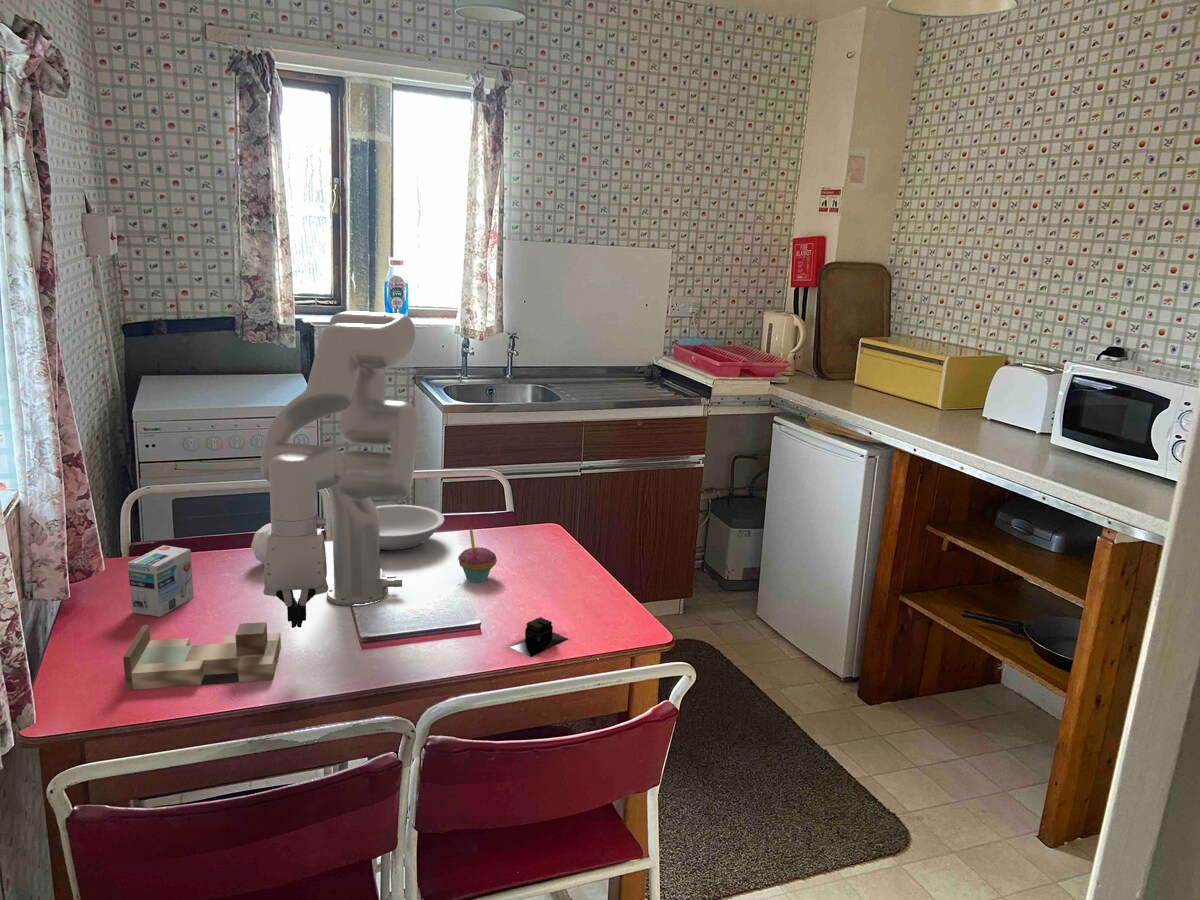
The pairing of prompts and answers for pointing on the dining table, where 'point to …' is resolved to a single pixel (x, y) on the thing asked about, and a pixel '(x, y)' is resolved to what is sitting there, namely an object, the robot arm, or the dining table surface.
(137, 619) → the dining table surface
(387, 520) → the soup bowl
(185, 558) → the light bulb box
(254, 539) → the ornament
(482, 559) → the cupcake
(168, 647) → the track
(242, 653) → the walnut block
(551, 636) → the build plate
